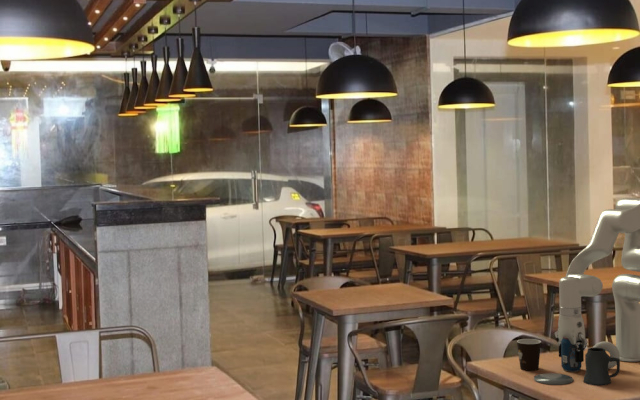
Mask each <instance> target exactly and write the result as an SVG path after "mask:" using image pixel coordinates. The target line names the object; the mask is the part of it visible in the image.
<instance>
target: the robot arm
mask: <svg viewBox="0 0 640 400" xmlns="http://www.w3.org/2000/svg"><path fill="white" fill-rule="evenodd" d="M614 208H615V209H612V208H610V209H605V210H603V211H601V212H600V214H599V217H598V218H597V221H596V224H595V227H594V229H593V232H592V235H591V236H590V239H589V242H588V244H587V245H586V247H585V248H583V249H582V250H581V251H580V252H578V253H577V255H576V256H574V258H573V259H572V260H571V262H570V264H569V266H568V268H567V271H566V274H565V276H563V277H561V278H559V282H558V285H559V286H558V291H559V293H558V294H559V296H558V297H559V298H558V299H559V300H558V301H559V302H558V303H559V305H558V306H559V316H558V322H557V331H555V332H554V336H555V340H556V342H557V346H558V357H559V358H561V340H562V339H563V337H564V338H569V341H570V342H571V344H573V345H574V346H575V348H576V350H577V351H575V362H577V363H578V362H581V363H583V362H585V354H584V352H585V350H586V348H587V345H588V343H589V341H588V339H587V338H586V329H585V323H584V317H583V316H582V297H591V298H592V297H596V296H598V295H600V294H601V292H602V290H603V288H604V287H603V281H602V280H601V279H600V277H598V276H595V275H592V274H591V275H590V274H585V271H586V270H587V269H588V267H590V265H592V264H593V263H595V262H596V261H599V260H601V259H604V258H607V257H608V256H610V255H611V254H612V252H613V249H614V247H615V244H616V241H617V238H618V237H619V234H620V233H621V234H624V240H623V241H624V242H623V248H622V251H621V259H620V260H621V261H620V262H621V263H620V264H621V266H622V268H623V269H624V270H627V271H631V272H638V273H640V197H639V198H636V197H625V198H619V199H618V200H617V201H616V202H615V205H614ZM611 288H612V295H613V299H614V306H615V311H614V312H615V346H616V347H617V349H618V350H619V353H620V362H631V363H633V362H635V363H636V362H640V275H638V274H631V273H622V274H618V275H617V276H615V278H614V279H613V280H612V284H611ZM577 341H579V342H577ZM576 342H577V343H576ZM578 345H580V347H578Z"/></svg>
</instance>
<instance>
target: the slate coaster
mask: <svg viewBox="0 0 640 400" xmlns="http://www.w3.org/2000/svg"><path fill="white" fill-rule="evenodd" d="M533 380H534V382H535V383H539V384H542V385H550V386H557V385H558V386H561V385H568V384H571V383H572V382H574V378H573V377H572V376H570V375H568V374H564V373H563V374H562V373H540V374H539V373H538V374H536V375H534V376H533Z"/></svg>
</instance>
